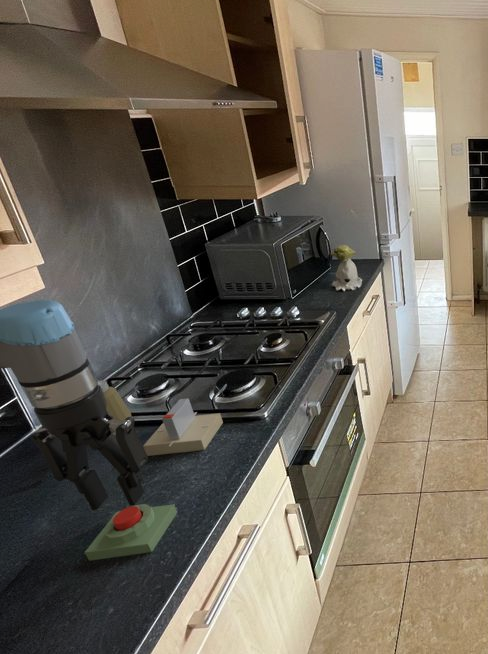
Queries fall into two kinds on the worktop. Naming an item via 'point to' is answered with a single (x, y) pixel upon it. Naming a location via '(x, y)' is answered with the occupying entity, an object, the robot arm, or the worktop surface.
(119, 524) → the button
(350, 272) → the white green figurine
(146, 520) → the button box
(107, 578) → the worktop surface
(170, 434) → the grey rectangular block
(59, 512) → the worktop surface
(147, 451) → the switch base
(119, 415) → the squeeze bottle
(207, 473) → the worktop surface
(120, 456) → the robot arm
